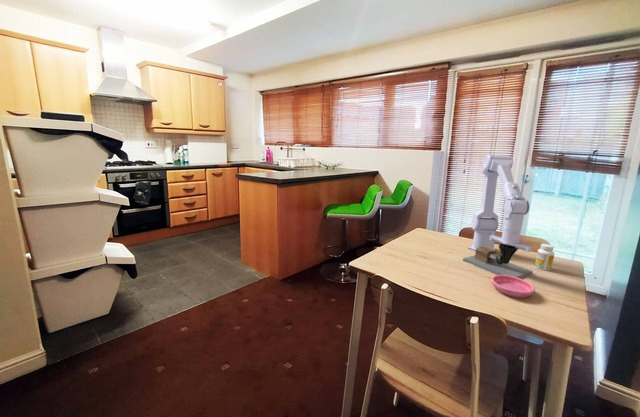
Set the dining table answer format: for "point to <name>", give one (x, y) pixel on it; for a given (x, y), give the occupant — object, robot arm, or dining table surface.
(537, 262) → the supplement bottle
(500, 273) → the base board
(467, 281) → the dining table surface
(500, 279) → the saucer
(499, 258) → the shaft
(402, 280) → the dining table surface
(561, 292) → the dining table surface
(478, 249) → the bearing block
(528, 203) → the robot arm
